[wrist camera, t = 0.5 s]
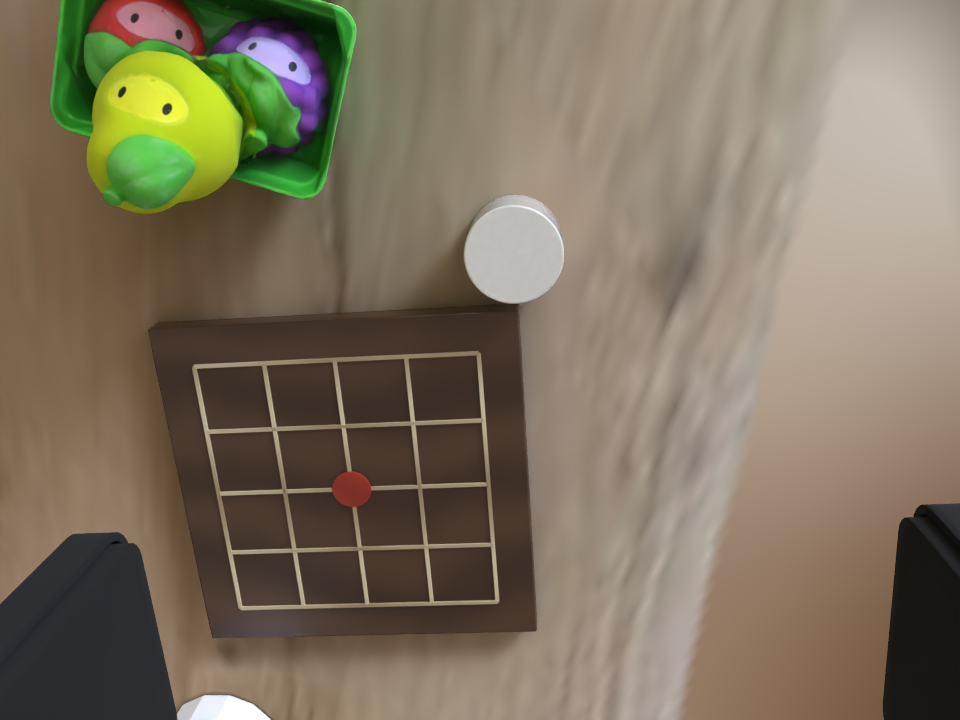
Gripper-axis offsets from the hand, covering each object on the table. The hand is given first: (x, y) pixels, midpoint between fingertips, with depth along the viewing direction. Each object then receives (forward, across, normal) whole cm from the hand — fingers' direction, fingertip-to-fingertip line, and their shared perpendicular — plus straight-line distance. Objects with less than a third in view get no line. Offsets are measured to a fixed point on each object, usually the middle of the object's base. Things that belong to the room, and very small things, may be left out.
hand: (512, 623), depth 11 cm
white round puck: (+31, +1, +1) cm, 31 cm away
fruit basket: (+31, +13, -7) cm, 34 cm away
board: (+31, +10, +13) cm, 35 cm away
